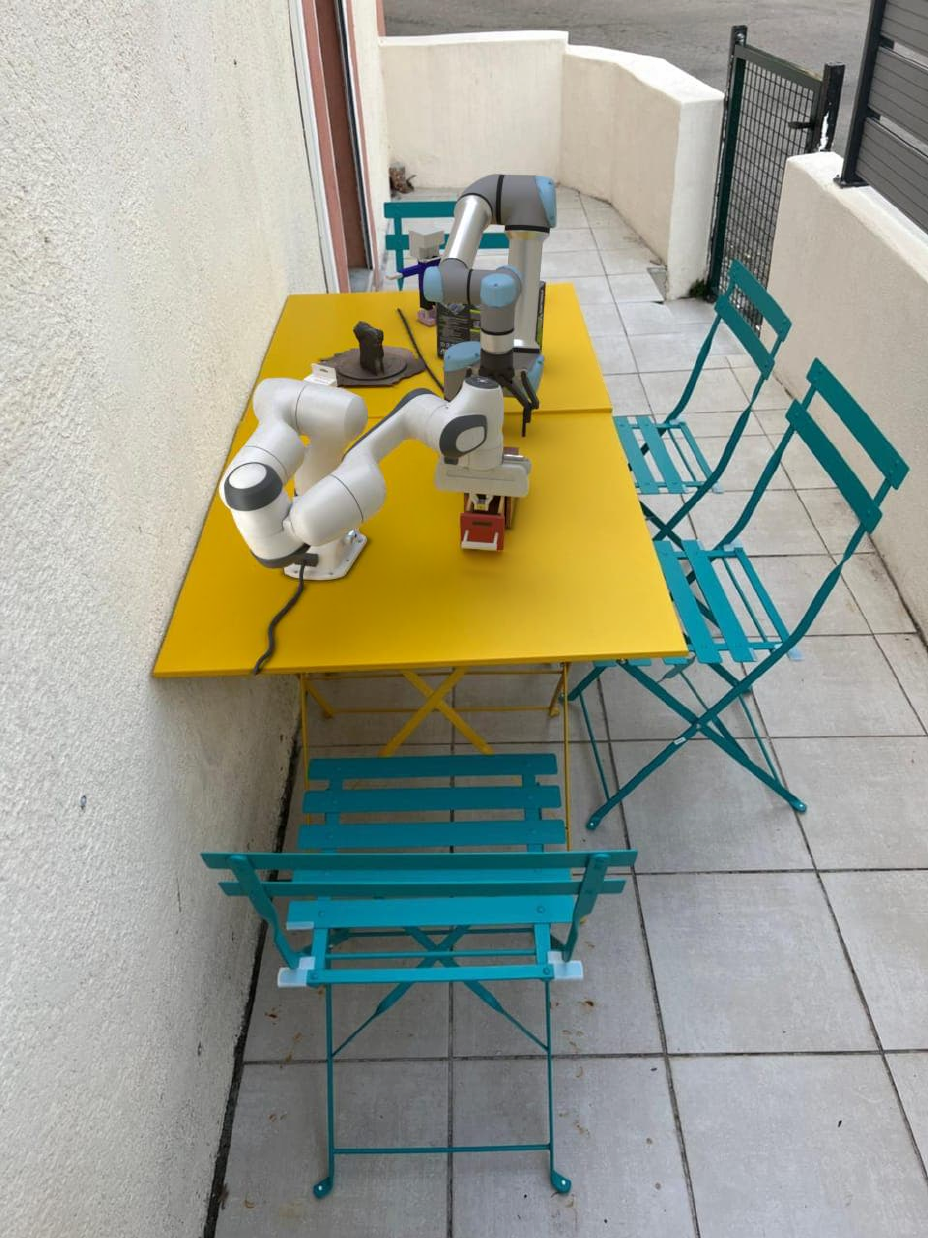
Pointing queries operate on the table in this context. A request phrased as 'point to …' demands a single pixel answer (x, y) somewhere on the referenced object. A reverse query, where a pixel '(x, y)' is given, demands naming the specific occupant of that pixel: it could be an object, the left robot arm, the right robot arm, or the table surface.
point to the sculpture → (372, 360)
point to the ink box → (322, 376)
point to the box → (472, 323)
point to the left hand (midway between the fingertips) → (481, 508)
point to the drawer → (484, 524)
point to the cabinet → (509, 499)
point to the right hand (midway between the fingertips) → (495, 432)
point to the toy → (423, 265)
